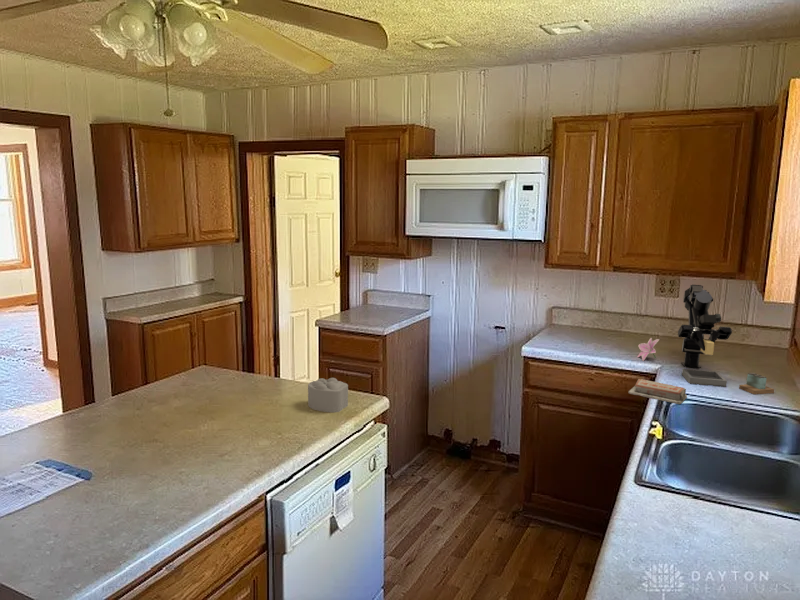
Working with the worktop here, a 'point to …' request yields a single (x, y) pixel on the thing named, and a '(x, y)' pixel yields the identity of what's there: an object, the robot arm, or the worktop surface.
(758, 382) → the ticket holder
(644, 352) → the lily
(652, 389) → the packaged product
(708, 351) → the stub
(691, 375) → the stub tray
